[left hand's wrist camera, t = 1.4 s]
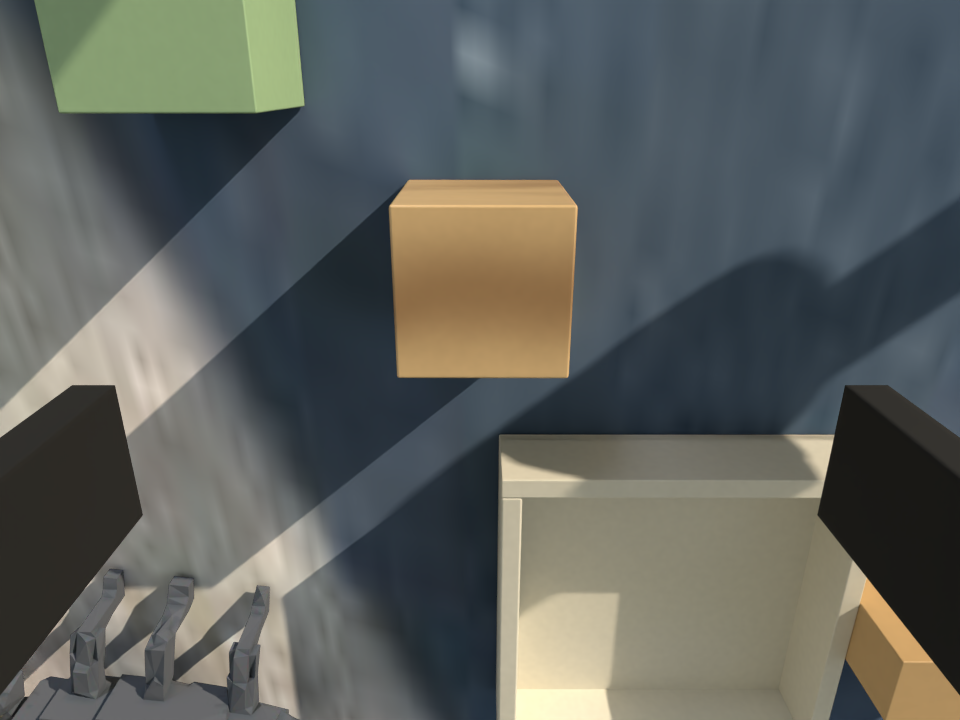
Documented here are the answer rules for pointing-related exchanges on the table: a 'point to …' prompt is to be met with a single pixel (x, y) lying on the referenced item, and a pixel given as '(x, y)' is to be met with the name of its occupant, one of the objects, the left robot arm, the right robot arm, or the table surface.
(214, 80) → the green block
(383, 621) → the table surface
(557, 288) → the beech block
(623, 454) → the tray
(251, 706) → the toy
